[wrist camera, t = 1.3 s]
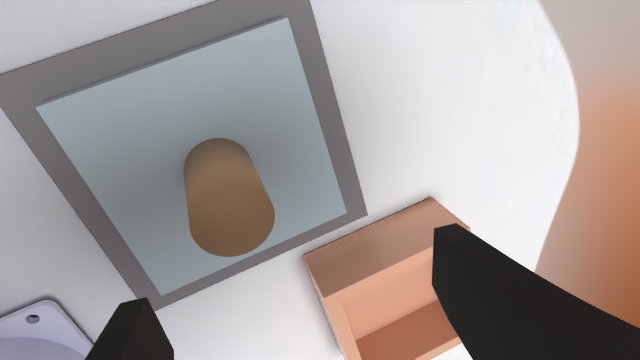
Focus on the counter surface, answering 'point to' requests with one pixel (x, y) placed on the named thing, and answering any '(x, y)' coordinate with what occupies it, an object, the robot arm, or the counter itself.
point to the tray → (385, 287)
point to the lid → (203, 153)
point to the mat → (149, 46)
